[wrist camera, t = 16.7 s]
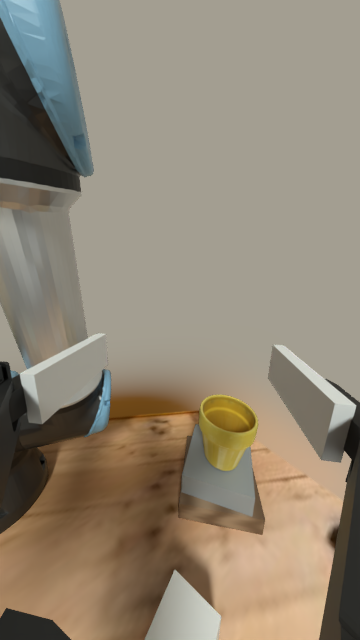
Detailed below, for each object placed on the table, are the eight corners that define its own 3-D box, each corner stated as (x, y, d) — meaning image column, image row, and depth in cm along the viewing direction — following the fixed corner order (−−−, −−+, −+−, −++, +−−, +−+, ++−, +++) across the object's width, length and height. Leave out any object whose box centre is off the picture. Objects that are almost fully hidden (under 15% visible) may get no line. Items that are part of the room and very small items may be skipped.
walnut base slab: (178, 520, 32) (179, 503, 31) (186, 449, 46) (187, 435, 45) (261, 537, 30) (265, 520, 29) (245, 457, 44) (246, 444, 43)
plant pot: (223, 426, 43) (229, 389, 41) (260, 466, 34) (271, 422, 32) (185, 442, 38) (189, 401, 36) (218, 494, 29) (226, 444, 27)
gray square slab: (181, 492, 33) (182, 474, 32) (194, 437, 44) (195, 423, 43) (252, 516, 30) (255, 498, 29) (247, 451, 41) (249, 437, 40)
